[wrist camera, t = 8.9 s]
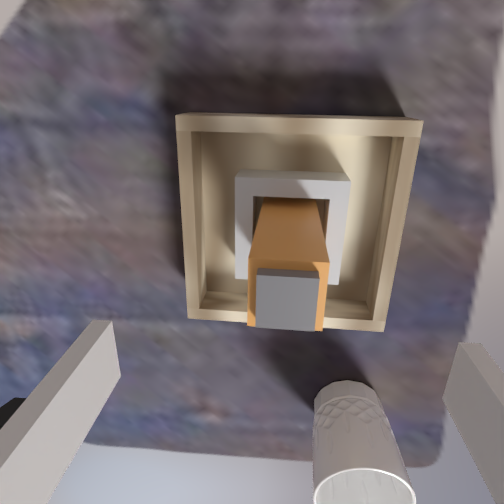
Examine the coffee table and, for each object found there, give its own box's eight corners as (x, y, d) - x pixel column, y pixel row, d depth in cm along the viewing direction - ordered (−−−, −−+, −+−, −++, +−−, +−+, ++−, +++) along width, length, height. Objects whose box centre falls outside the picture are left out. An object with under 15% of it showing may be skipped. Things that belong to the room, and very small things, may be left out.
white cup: (317, 436, 40) (325, 537, 31) (299, 381, 38) (302, 474, 28) (391, 426, 39) (422, 529, 30) (378, 368, 36) (408, 462, 27)
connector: (263, 242, 31) (245, 334, 19) (264, 196, 29) (246, 265, 18) (311, 245, 30) (323, 340, 19) (315, 198, 29) (331, 270, 17)
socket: (240, 262, 32) (235, 278, 29) (240, 169, 29) (234, 177, 26) (334, 268, 31) (338, 284, 28) (345, 172, 28) (351, 181, 25)
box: (198, 294, 35) (187, 318, 31) (190, 112, 28) (175, 115, 25) (373, 305, 33) (383, 331, 30) (405, 116, 27) (423, 120, 23)
